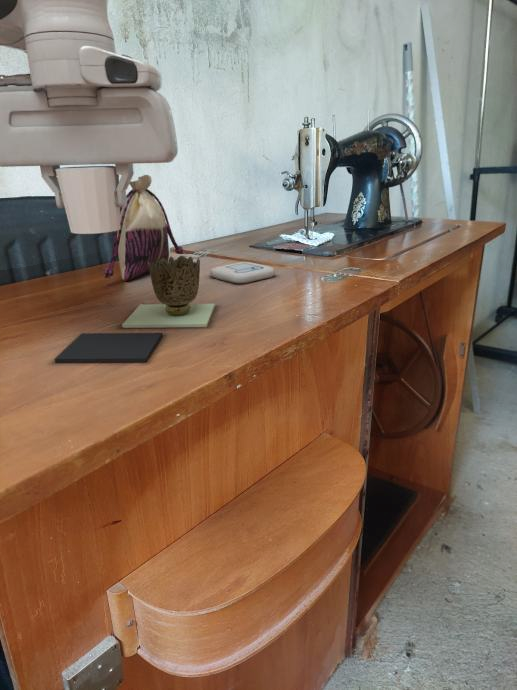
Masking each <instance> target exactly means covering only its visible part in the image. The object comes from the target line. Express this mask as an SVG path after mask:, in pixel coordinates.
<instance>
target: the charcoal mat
mask: <svg viewBox="0 0 517 690" xmlns="http://www.w3.org/2000/svg"><path fill="white" fill-rule="evenodd" d="M162 338H163V332H96V333H95V332H91V333H90V332H86V333H85V332H84V333H83V332H82V333H80V334H79V335H77V337H76V338H75V339H74V340H73V341H72V342H70V344H68V346H67V347H65V349H63V350H62V351H61V352H60V353H59V354H58V355H57V356H56V357H55V358H54V363H55V364H56V363H59V364H60V363H64V364H65V363H147V362H148V360H149V358H150V357H151V355H152V354H153V352H154V350H155V349H156V348H157V346H158V344H159V342H160V341H161V339H162Z"/></svg>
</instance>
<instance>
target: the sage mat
mask: <svg viewBox="0 0 517 690" xmlns="http://www.w3.org/2000/svg"><path fill="white" fill-rule="evenodd" d="M189 305H190V311H189V312H188V313H187V314H185V315H181V316H172V315H169V314H168V313H167V312H166V310H165V308H166V305H165V304H163V303H160V304H159V303H158V304H157V303H154V304H153V303H151V304H146V303H145V304H143V303H141V304H139V305H138V306H137V307H136V308H135V310H134V311H132V313H131V314H130V315H129V316H128V317H127V319H125V321H124V322H123V323H122V324H121V327H122V329H151V328H152V329H155V328H158V329H159V328H160V329H161V328H164V329H165V328H168V329H169V328H207V327H208V325H209V324H210V323H209V322H210V320H211V318H212V315H213V313H214V310H215V308H216V303H189Z"/></svg>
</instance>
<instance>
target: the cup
mask: <svg viewBox="0 0 517 690" xmlns="http://www.w3.org/2000/svg"><path fill="white" fill-rule="evenodd" d="M148 266H149V276H150V279H151V285H152V288H153V292H154V294H155V295H154V296H155V297H156V299H157V300H158V301H159V302H160V303H161V304H165V305H166V308H165V310H166V312H167V313H168V314H169V315H172V316H181V315H185V314H187V313H188V312H189V311H190V305H189V304H191V303H192V302H193V301H194V300H195V299H196V297H197V295H198V292H199V286H200V269H201V260H200V258H199V257H198V258H197V259H196V261H194V258H193V256H191V255H190V256H189V257H188V258H187V257H186V256H183V255H179V256H178V257H177V258H176V259H175V258H174V257H173V256H169V259H168V261H167V260H166V259H165V258H161V259H160V260H159V259H158V258H157V260H156V262H155V264H154V263H153V261H152V260H151V264H150V263H149V262H148Z"/></svg>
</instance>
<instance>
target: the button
mask: <svg viewBox="0 0 517 690" xmlns="http://www.w3.org/2000/svg"><path fill="white" fill-rule="evenodd" d="M275 274H276V270H275V268H274V267H272V266H269V265H264V264H259V263H256V262H255V263H254V262H251V261H240V262H236V263H230V264H225V265H220V266H215V267H213V268H211V270H210V276H211V277H212V278H213V279H217V280H220V281H224V282H228V283H231V284H236V285H243V284H244V285H245V284H249V283H252V282H257V281H261V280H265V279H270V278H273V277H274V276H275Z"/></svg>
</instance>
